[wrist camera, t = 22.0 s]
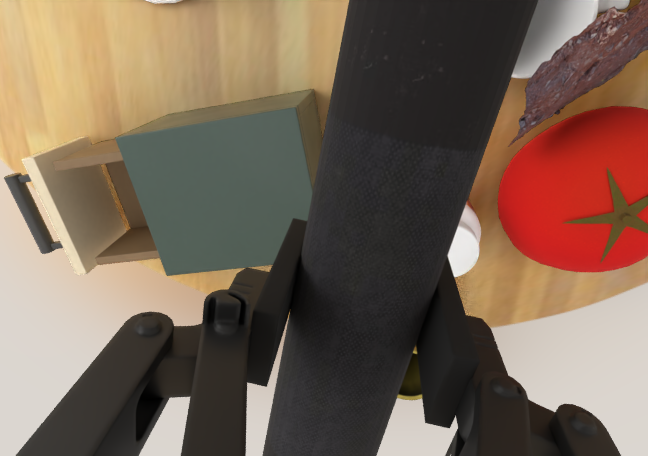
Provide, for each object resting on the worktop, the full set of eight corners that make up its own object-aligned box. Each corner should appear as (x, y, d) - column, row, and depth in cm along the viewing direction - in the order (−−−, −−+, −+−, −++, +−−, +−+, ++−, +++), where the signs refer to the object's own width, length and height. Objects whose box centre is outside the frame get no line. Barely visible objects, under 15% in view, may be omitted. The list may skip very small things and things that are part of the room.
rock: (489, 158, 32) (585, 109, 22) (460, 113, 32) (543, 44, 22) (689, 29, 35) (851, -64, 26) (663, -12, 35) (814, -120, 26)
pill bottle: (465, 166, 41) (492, 212, 31) (464, 225, 44) (490, 285, 34) (398, 172, 42) (405, 218, 32) (402, 229, 45) (409, 288, 35)
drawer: (80, 243, 49) (31, 280, 42) (36, 144, 44) (-28, 167, 37) (234, 224, 46) (209, 261, 39) (203, 115, 41) (168, 134, 34)
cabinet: (205, 230, 47) (166, 276, 39) (167, 114, 42) (114, 137, 34) (336, 214, 45) (326, 259, 36) (313, 88, 40) (295, 106, 31)
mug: (447, 68, 38) (474, 86, 27) (443, -19, 35) (472, -37, 24) (571, 48, 36) (654, 59, 25) (577, -45, 33) (672, -77, 23)
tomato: (535, 263, 45) (576, 327, 35) (459, 172, 41) (482, 216, 32) (677, 175, 39) (771, 223, 30) (602, 64, 36) (681, 78, 27)
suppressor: (627, -160, 9) (543, -92, 13) (378, -207, 9) (380, -125, 13) (344, 584, 20) (352, 482, 24) (238, 557, 20) (265, 460, 25)
